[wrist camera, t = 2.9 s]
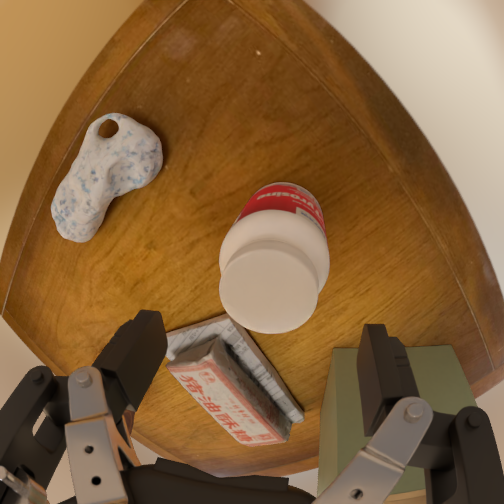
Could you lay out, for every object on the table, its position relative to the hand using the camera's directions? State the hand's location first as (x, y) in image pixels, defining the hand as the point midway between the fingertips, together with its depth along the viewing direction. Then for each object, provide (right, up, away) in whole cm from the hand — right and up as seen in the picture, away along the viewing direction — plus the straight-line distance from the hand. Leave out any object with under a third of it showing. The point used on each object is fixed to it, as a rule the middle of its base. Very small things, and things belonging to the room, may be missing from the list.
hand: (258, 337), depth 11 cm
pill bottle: (+2, +6, +13) cm, 14 cm away
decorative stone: (-13, +10, +14) cm, 21 cm away
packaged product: (-2, -11, +21) cm, 24 cm away
